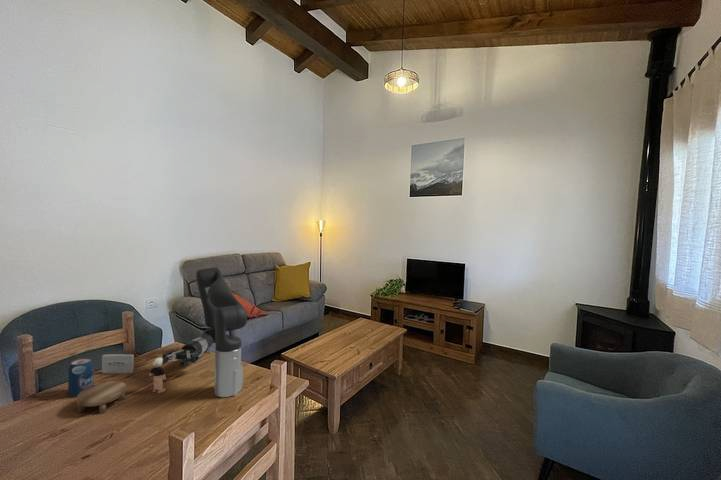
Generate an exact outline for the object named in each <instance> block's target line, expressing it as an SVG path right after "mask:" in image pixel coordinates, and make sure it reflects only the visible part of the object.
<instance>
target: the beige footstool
mask: <svg viewBox="0 0 721 480" xmlns="http://www.w3.org/2000/svg"><path fill="white" fill-rule="evenodd" d="M126 390H127V387H126V383H125V382H123V381H119V380H118V381H117V380H116V381H115V380H112V381H105V382H101V383H97V384H95V385H94V386H91V387H89V388H87V389H85V390H83V391H81V392H80V393H79V394H78V395H77V397H76V404H77V413H81V412H83V411H85V410H86V408H88V407H96V406H97V407H98V406H99V407H98V413H99V415H100V414H105V413H106V412H107V403H112V402H113V401H115V400H117V399H118V402H121V401H124V400H126V399H125V398H126V396H125V395H126V392H127V391H126Z"/></svg>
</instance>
